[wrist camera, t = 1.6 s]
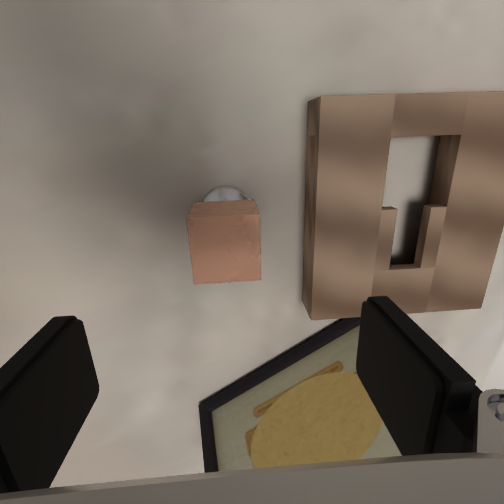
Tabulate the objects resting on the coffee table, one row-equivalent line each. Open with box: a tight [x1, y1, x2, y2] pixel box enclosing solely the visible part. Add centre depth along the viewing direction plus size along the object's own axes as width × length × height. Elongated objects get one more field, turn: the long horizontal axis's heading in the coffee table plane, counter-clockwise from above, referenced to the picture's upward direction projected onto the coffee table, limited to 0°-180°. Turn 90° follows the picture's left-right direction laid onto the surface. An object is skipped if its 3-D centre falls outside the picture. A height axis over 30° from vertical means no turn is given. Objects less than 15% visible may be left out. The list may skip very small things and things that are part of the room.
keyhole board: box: [302, 91, 504, 320], centre depth 26 cm, size 18×16×4 cm
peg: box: [186, 186, 261, 284], centre depth 22 cm, size 4×4×10 cm
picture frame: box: [199, 317, 402, 473], centre depth 27 cm, size 23×9×15 cm, turn 124°
